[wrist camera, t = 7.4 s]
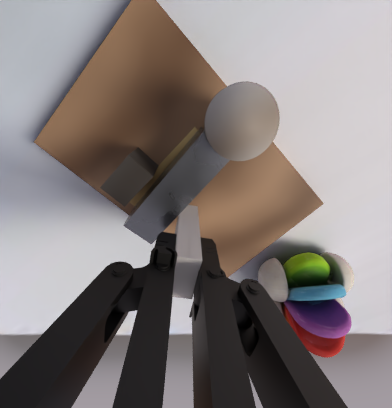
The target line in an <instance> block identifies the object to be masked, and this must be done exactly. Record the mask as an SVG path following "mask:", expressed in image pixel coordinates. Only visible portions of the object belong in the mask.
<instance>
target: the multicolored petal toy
mask: <svg viewBox="0 0 392 408" xmlns="http://www.w3.org/2000/svg"><path fill="white" fill-rule="evenodd" d="M258 281H259V283H260V284H261V285H262V286H263V287H264V288H265V290H266V291H267V293H268V294H269V295H270V297H271V298H272V300H273V301H274V303H275V304H276V305H277V307H278V308H279V310H280V311H281V313H282V314H283V316H284V317H285V318H286V320H287V321H288V323H289V324H290V326H291V327H292V328H293V330H294V331H295V333H296V334H297V336H298V337H299V338H300V340H301V341H302V343H303V344H304V346H305V347H306V349H307V350H308V351H310V352H311V353H313V354H315V355H318V356H321V357H332V356H334V355H336V354H337V353H339V352H340V351H341V349H342V348H343V345H344V341H345V335H346V334H347V333H348V332H349V330H350V328H351V317H350V315H349V313H348V312H347V311H346V309H345V308H344V304H343V302H342V300H341V298H342V297H344V296H345V295H346V293H347V292H348V291H349V290H350V289H351V288H352V286H353V283H354V273H353V270H352V268H351V266H350V265H349V263H348V262H347V261H346V260H345V259H343V258H342V257H340V256H338V255H336V254H333V253H328V252H324V253H321V254H320V255H317V254H314V253H309V252H308V253H301V254H298V255H295V256H293V257H292V258H290V259H289V260H288V261H286V262H285V264H284V265H283V266H282V265H281V263H280V262H279V261H278V260H277V259H276V258H271V259H269V260H267V261H265V262H264V263H263V264H262V265H261V267H260V269H259V271H258Z"/></svg>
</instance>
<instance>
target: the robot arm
mask: <svg viewBox="0 0 392 408" xmlns="http://www.w3.org/2000/svg"><path fill="white" fill-rule="evenodd" d="M193 294H194V301H193V305H192V308H191V312H190V316H189V317H192V337H193V392H194V408H256V406H255V401H254V397H253V393H252V388H251V384H250V379H249V376H250V378H251V380H252V383H253V385H254V387H255V390H256V392H257V394H258V397H259V399H260V401H261V404H262V406H263V408H348V407H347V406H346V405H345V403H344V402H343V400H342V399H341V397H340V396H339V394H338V393H337V392H336V390H335V389H334V387H333V386H332V384H331V383H330V382H329V380H328V379H327V377H326V376H325V375H324V373H323V372H322V370H321V369H320V368H319V366H318V364H317V363H316V361H315V360H314V359H313V357H312V356H311V354H310V353H309V351H308V350H307V349H306V347H305V346H304V344H303V343H302V341H301V340H300V338H299V337H298V336H297V334H296V333H295V331H294V330H293V328H292V327H291V326H290V324H289V323H288V321H287V320H286V318H285V317H284V316H283V314H282V313H281V311H280V310H279V308H278V307H277V305H276V304H275V303H274V301H273V300H272V298H271V297H270V295H269V294H268V293H267V291H266V290H265V288H264V287H263V286H262V285H261V284H260V283H258V282H257V281H255V280H252V279H244V280H243V281H241V283H238V282H235V281H232V280H230V279H229V278H227V277H226V274H225V272H224V271H223V270H222V269H221V268H220V263H219V258H218V254H217V248H216V244H215V242H214V241H213V240H212V239H209V238H202V237H200V227H199V216H198V206H193V205H188V206H187V207H186V208H185V209H184V210H183V211H182V212H181V213H180V214H179V215H178V218H177V223H176V229H175V234H174V233H167V232H161V233H160V234H159V235H158V236H157V240H156V244H155V248H153V250H152V251H151V257H150V263H149V264H148V265H147V266H145V267H142V268H135V269H133V267H132V266H131V265H130V264H128V263H126V262H114V263H111V264H110V265H108V266H107V267H106V268H105V269H104V270H103V271H102V272H101V273H100V274H99V275H98V276H97V277H96V278H95V279H94V280H93V282H92V283H91V284H90V285H89V286H88V287H87V288H86V289H85V290H84V291H83V292H82V293H81V294H80V295H79V296H78V297H77V298H76V300H75V301H74V302H73V303H72V304H71V305H70V306H69V307H68V308H67V309H66V310H65V311H64V312H63V313H62V314H61V315H60V316H59V317H58V319H57V320H56V321H55V322H54V323H53V324H52V325H51V326H50V327H49V328H48V329H47V330H46V331H45V332H44V333H43V334H42V335H41V337H40V338H39V339H38V340H37V341H36V342H35V343H34V344H33V345H32V346H31V347H30V348H29V349H28V350H27V351H26V353H24V354H23V356H22V357H21V358H20V359H19V360H18V361H17V362H16V363H15V364H14V365H13V366H12V367H11V368H10V369H9V370H8V372H7V373H6V374H5V375H4V376H3V377H2V378H1V379H0V408H71V407H72V406H73V404H74V402H75V401H76V399H77V397H78V396H79V394H80V392H81V391H82V389H83V387H84V386H85V384H86V382H87V381H88V379H89V377H90V376H91V374H92V372H93V371H94V369H95V368H96V366H97V364H98V363H99V361H100V359H101V358H102V356H103V354H104V352H105V351H106V349H107V348H108V346H109V344H110V343H111V341H112V339H113V338H114V336H115V334H116V333H117V331H118V329H119V328H120V326H121V324H122V323H123V321H124V319H125V318H126V316H127V315H128V312H129V311H135V310H138V311H137V315H136V318H135V322H134V326H133V330H132V334H131V338H130V342H129V346H128V350H127V353H126V357H125V361H124V365H123V369H122V373H121V377H120V381H119V385H118V388H117V392H116V396H115V400H114V404H113V408H162V405H163V394H164V383H165V371H166V360H167V350H168V339H169V328H170V317H171V306H172V297H180V298H188V299H192V297H193ZM248 373H249V375H248Z"/></svg>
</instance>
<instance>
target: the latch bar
mask: <svg viewBox="0 0 392 408" xmlns="http://www.w3.org/2000/svg"><path fill="white" fill-rule="evenodd" d="M229 161H230V160H229V159H226V158H224V157H222V156H221V155H219V154H218V153H217V152H216V151H215V150H214V149H213V148H212V146H211V145H210V143H209V142H208V139H207V137H206V134H205V130H204V129H203V128H202V127H200V129H199V130H198V131H197V132H196V133H195V135H194V136H193V137H192V138H191V139H190V141H189V142H188V143H187V144H186V145H185V147H184V148H183V149H182V150H181V151H180V153H179V154H178V155H177V156H176V157H175V158H174V160H173V161H172V162H171V163H170V164H169V166H168V167H167V168H166V169H165V170H164V172H163V173H162V174H161V175H160V176H159V178H158V179H157V180H156V181H155V182H154V184H153V185H152V186H151V187H150V188H149V190H148V191H147V192H146V193H145V194H144V195H143V197H142V198H141V199H140V200H139V201H138V203H137V204H136V205H135V206H134V207H133V209H132V211H131V213H130V215H129V217H128V218H127V220H126V222H125V224H124V226H125V227H126V228H128V229H129V230H131V231H132V232H134V233H135V234H137V235H138V236H140V237H141V238H143V239H144V240H146V241H147V242H149V243H150V244H152V243H153V242H154V241H155V240H156V239H157V236H158V235H159V234H160V233H161V232H163V231H164V230H165V229H166V228H167V227H168V226H169V225H170V224H171V223H172V222H173V221H174V220H175V218H176V217H177V216H178V215H179V214H180V213H181V212H182V211H183V210H184V209H185V208H186V207H187V206H188V205H189V203H190V202H191V201H192V200H193V199H194V198H195V197H196V196H197V195H198V194H199V193H200V192H201V191H202V190H203V189H204V187H205V186H206V185H207V184H208V183H209V182H210V181H211V180H212V179H213V178H214V177H215V176H216V175H217V174H218V172H219V171H220V170H221V169H222V168H223V167H224V166H225V165H226V164H227V163H228V162H229Z"/></svg>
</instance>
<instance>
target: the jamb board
mask: <svg viewBox="0 0 392 408" xmlns="http://www.w3.org/2000/svg"><path fill="white" fill-rule="evenodd" d="M278 126H279V109H278V106H277V103H276V101H275V99H274V97H273V95H272V94H271V93H270V92H269V91H268V90H267V89H266V88H265V87H263V86H261V85H259V84H257V83H253V82H238V83H234V84H232V85H230V86H228V87H227V86H226V85H225V83H224V82H223V81H222V80H221V79H220V77H219V76H218V75H217V74H216V73H215V71H214V70H213V69H212V68H211V66H210V65H209V64H208V63H207V62H206V60H205V59H204V58H203V57H202V56H201V54H200V53H199V52H198V51H197V49H196V48H195V47H194V46H193V45H192V43H191V42H190V41H189V40H188V39H187V37H186V36H185V35H184V34H183V33H182V31H181V30H180V29H179V28H178V26H177V25H176V24H175V23H174V22H173V20H172V19H171V18H170V17H169V16H168V14H167V13H166V12H165V11H164V9H163V8H162V7H161V6H160V5H159V3H158V2H157V1H156V0H131V2H130V3H129V5H128V6H127V8H126V9H125V11H124V12H123V14H122V15H121V16H120V18H119V19H118V21H117V22H116V24H115V25H114V27H113V28H112V29H111V31H110V32H109V34H108V35H107V37H106V38H105V40H104V41H103V43H102V44H101V45H100V47H99V48H98V50H97V51H96V53H95V54H94V56H93V57H92V58H91V60H90V61H89V63H88V64H87V66H86V67H85V69H84V70H83V72H82V73H81V74H80V76H79V77H78V79H77V80H76V82H75V83H74V85H73V86H72V87H71V89H70V90H69V92H68V93H67V95H66V96H65V98H64V99H63V101H62V102H61V103H60V105H59V106H58V108H57V109H56V111H55V112H54V114H53V115H52V116H51V118H50V119H49V121H48V122H47V124H46V125H45V127H44V128H43V130H42V131H41V132H40V134H39V135H38V137H37V138H36V140H35V141H34V143H36V144H37V145H38V146H39V147H41V148H42V149H43V150H45V151H46V152H47V153H49V154H50V155H51V156H53V157H54V158H55V159H56V160H58V161H59V162H60V163H62V164H63V165H64V166H66V167H67V168H68V169H69V170H71V171H72V172H73V173H75V174H76V175H77V176H79V177H80V178H81V179H83V180H84V181H85V182H86V183H88V184H89V185H90V186H92V187H93V188H94V189H96V190H97V191H98V192H100V193H101V194H102V195H103V196H105V197H106V198H107V199H109V200H110V201H111V202H113V203H114V204H115V205H117V206H118V207H119V208H120V209H122V210H123V211H124V212H126V213H127V214H128V215H130V213H131V211H132V209H133V207H134V206H135V205H136V204H137V203H138V201H139V200H140V199H141V198H142V197H143V195H144V194H145V193H146V192H147V191H148V190H149V188H150V187H151V186H152V185H153V184H154V182H155V181H156V180H157V179H158V178H159V176H160V175H161V174H162V173H163V172H164V170H165V169H166V168H167V167H168V166H169V164H170V163H171V162H172V161H173V160H174V158H175V157H176V156H177V155H178V154H179V153H180V151H181V150H182V149H183V148H184V147H185V145H186V144H187V143H188V142H189V141H190V139H191V138H192V137H193V136H194V135H195V133H196V132H197V131H198V130H199V129H200V127H202V128H203V129H204V130H205V134H206V137H207V139H208V142H209V143H210V145H211V146H212V148H213V149H214V150H215V151H216V152H217V153H218V154H219V155H221V156H222V157H224V158H226V159H229V160H230V161H229V162H228V163H227V164H226V165H225V166H224V167H223V168H222V169H221V170H220V171H219V172H218V174H217V175H216V176H215V177H214V178H213V179H212V180H211V181H210V182H209V183H208V184H207V185H206V186H205V187H204V189H203V190H202V191H201V192H200V193H199V194H198V195H197V196H196V197H195V198H194V199H193V200H192V201H191V202H190V203H189V205H193V206H198V216H199V227H200V237H202V238H209V239H212V240H213V241H214V242H215V244H216V248H217V254H218V258H219V263H220V268H221V269H222V270H223V271H224V272H225V274H226V277H227V278H228V277H229V276H230V275H231V274H233V273H234V272H235V271H237V270H238V269H239V268H241V267H242V266H243V265H244V264H246V263H247V262H248V261H250V260H251V259H252V258H254V257H255V256H256V255H257V254H259V253H260V252H261V251H263V250H264V249H265V248H267V247H268V246H269V245H270V244H272V243H273V242H274V241H276V240H277V239H278V238H280V237H281V236H282V235H283V234H285V233H286V232H287V231H289V230H290V229H291V228H293V227H294V226H295V225H296V224H298V223H299V222H300V221H302V220H303V219H304V218H306V217H307V216H308V215H310V214H311V213H312V212H313V211H315V210H316V209H317V208H319V207H320V206H321V205H323V204H324V203H323V202H322V201H321V200H320V199H319V197H318V196H317V195H316V194H315V193H314V191H313V190H312V189H311V188H310V186H309V185H308V184H307V183H306V182H305V180H304V179H303V178H302V177H301V176H300V174H299V173H298V172H297V171H296V170H295V168H294V167H293V166H292V165H291V163H290V162H289V161H288V160H287V159H286V157H285V156H284V155H283V154H282V153H281V151H280V150H279V149H278V148H277V146H276V145H275V144H274V143H273V142H272V141H273V140H274V138H275V136H276V133H277V130H278ZM177 218H178V216H177V217H176V218H175V220H174V221H173V222H172V223H171V224H170V225H169V226H168V227H167V228H166V229H165V230H164V231H163V232H167V233H174V234H175V229H176V223H177Z"/></svg>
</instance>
